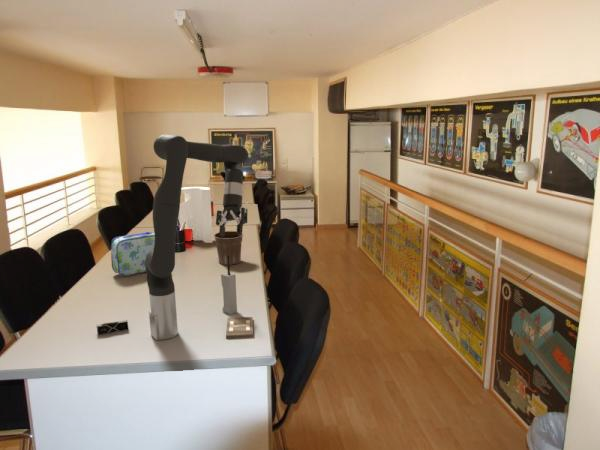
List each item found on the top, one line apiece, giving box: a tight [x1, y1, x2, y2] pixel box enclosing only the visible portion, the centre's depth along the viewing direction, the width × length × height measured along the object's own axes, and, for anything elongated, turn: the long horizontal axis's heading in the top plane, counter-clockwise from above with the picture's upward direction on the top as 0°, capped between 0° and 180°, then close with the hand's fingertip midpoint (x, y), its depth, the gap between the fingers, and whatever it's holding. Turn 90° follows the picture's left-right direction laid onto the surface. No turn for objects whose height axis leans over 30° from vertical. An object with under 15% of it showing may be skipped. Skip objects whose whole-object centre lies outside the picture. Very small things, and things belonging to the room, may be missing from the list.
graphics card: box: [96, 319, 129, 336], centre depth 190 cm, size 12×3×5 cm, turn 114°
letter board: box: [225, 316, 254, 339], centre depth 192 cm, size 16×10×1 cm, turn 6°
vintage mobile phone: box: [220, 256, 238, 315], centre depth 205 cm, size 4×5×25 cm
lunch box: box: [110, 231, 155, 277], centre depth 261 cm, size 26×11×21 cm, turn 131°
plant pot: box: [213, 230, 244, 266], centre depth 276 cm, size 16×16×16 cm
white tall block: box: [178, 186, 214, 244], centre depth 322 cm, size 35×11×21 cm
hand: (230, 235), depth 193 cm, fingers open, 8 cm apart
